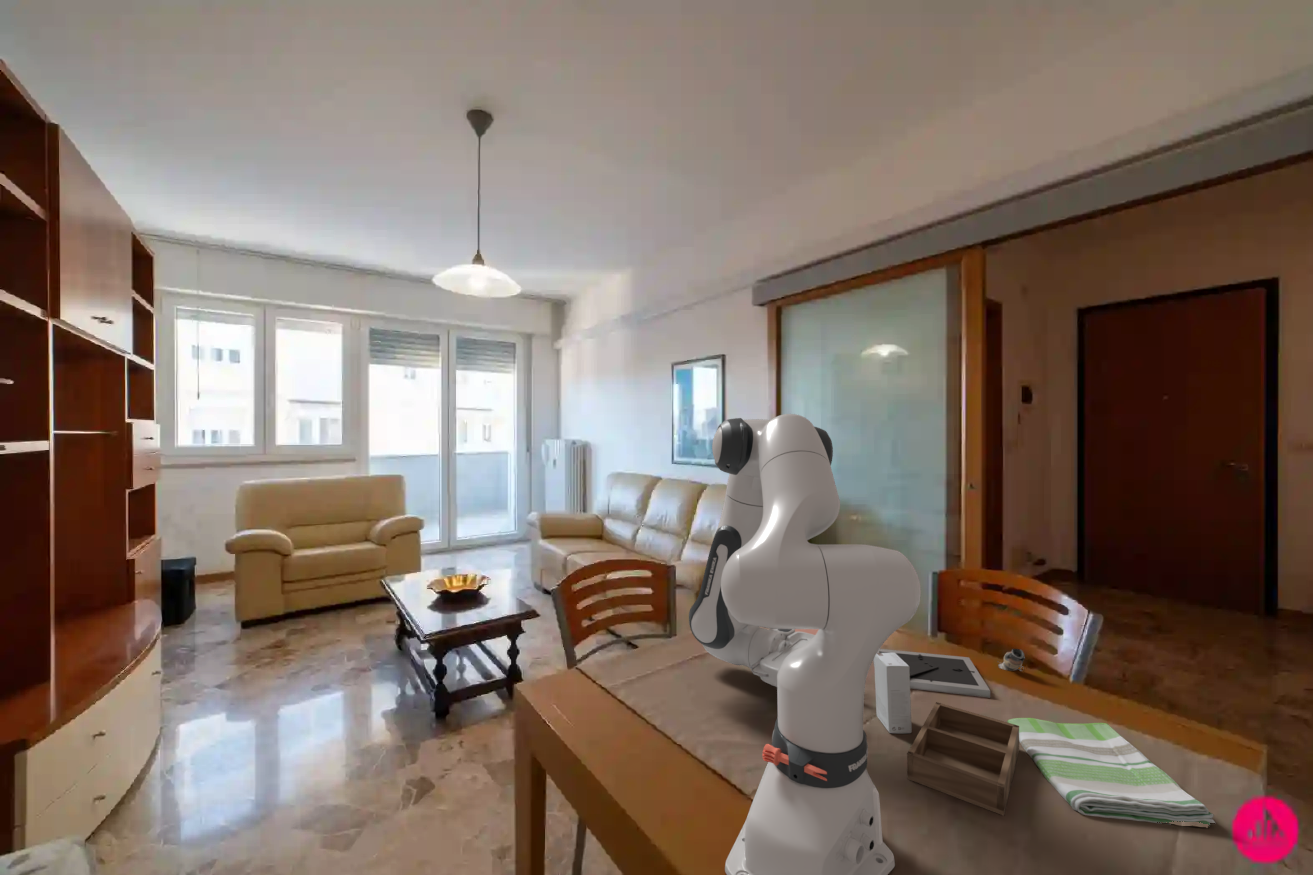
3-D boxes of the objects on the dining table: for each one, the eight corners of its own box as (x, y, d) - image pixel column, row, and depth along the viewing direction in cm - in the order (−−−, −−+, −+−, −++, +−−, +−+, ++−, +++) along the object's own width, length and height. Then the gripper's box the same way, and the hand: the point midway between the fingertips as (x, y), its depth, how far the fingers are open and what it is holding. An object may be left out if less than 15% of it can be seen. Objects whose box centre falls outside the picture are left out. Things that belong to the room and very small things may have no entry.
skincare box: (913, 733, 94) (912, 666, 94) (887, 734, 94) (887, 666, 94) (897, 714, 100) (897, 651, 100) (873, 715, 100) (873, 651, 100)
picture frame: (878, 687, 112) (990, 700, 106) (878, 674, 112) (990, 686, 106) (871, 656, 127) (969, 666, 121) (871, 644, 127) (969, 654, 121)
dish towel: (1073, 817, 75) (1073, 792, 74) (1003, 726, 97) (1003, 707, 97) (1220, 835, 71) (1220, 809, 71) (1111, 736, 93) (1112, 716, 93)
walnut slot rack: (1003, 815, 74) (1003, 787, 74) (907, 778, 82) (907, 753, 82) (1019, 749, 89) (1019, 725, 89) (936, 723, 97) (936, 701, 97)
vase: (1034, 680, 113) (1031, 652, 113) (1004, 679, 115) (1002, 651, 114) (1024, 668, 118) (1022, 642, 118) (997, 667, 120) (994, 641, 120)
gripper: (745, 654, 105) (813, 674, 96) (791, 623, 120) (853, 638, 112) (746, 686, 105) (813, 708, 96) (791, 651, 120) (853, 668, 112)
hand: (835, 670), depth 104 cm, fingers open, 8 cm apart
